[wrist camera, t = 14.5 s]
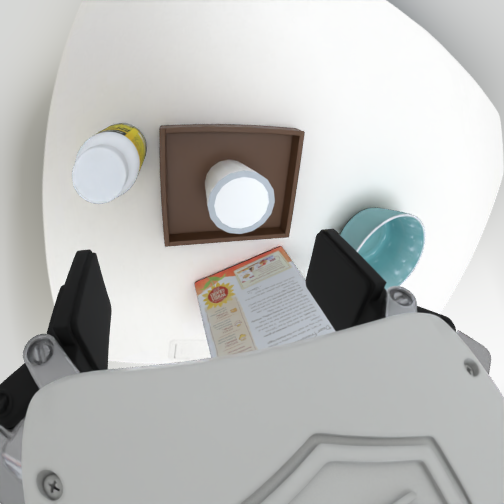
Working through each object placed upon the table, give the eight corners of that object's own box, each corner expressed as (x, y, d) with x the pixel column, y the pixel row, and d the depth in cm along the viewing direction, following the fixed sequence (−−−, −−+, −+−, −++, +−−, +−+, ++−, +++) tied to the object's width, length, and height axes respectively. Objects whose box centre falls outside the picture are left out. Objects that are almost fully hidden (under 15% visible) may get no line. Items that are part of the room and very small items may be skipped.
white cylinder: (200, 209, 33) (208, 237, 28) (199, 155, 30) (207, 172, 24) (253, 206, 35) (272, 231, 30) (257, 154, 32) (278, 170, 26)
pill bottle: (139, 114, 25) (122, 125, 17) (153, 164, 29) (146, 198, 20) (89, 134, 25) (53, 156, 16) (105, 181, 28) (80, 223, 19)
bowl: (322, 284, 48) (345, 316, 41) (318, 205, 39) (349, 233, 32) (390, 256, 50) (416, 280, 43) (397, 182, 40) (431, 203, 34)
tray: (164, 236, 35) (164, 246, 33) (160, 125, 27) (159, 128, 25) (282, 228, 39) (288, 237, 37) (295, 128, 31) (304, 131, 29)
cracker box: (208, 306, 43) (242, 428, 26) (193, 280, 40) (223, 413, 23) (289, 273, 44) (355, 380, 27) (282, 244, 40) (358, 356, 24)
